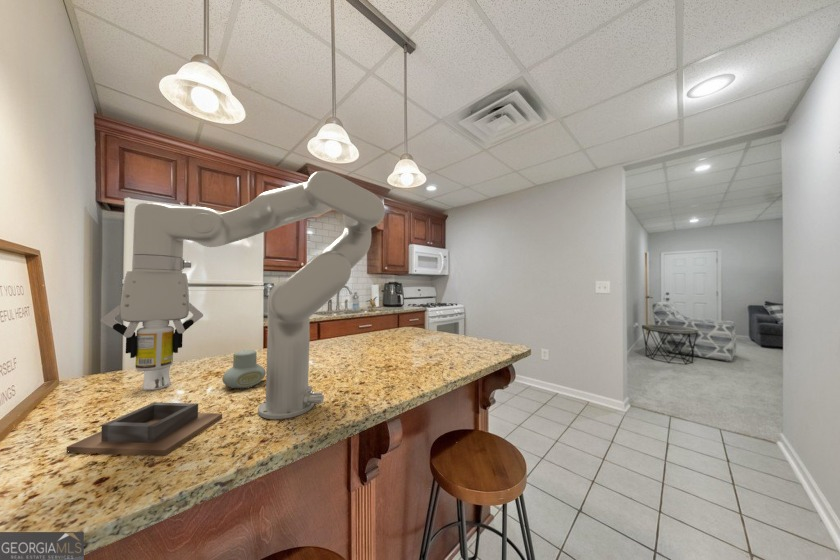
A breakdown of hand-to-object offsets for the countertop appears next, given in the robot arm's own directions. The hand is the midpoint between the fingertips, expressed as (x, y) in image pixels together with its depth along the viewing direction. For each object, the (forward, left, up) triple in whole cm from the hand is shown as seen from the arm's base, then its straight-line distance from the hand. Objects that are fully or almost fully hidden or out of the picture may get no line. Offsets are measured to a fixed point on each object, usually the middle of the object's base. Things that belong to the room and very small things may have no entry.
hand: (155, 353), depth 57 cm
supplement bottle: (0, 0, -3) cm, 3 cm away
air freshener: (-1, -27, -17) cm, 32 cm away
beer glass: (+23, -24, -17) cm, 37 cm away
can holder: (0, 0, -16) cm, 16 cm away
